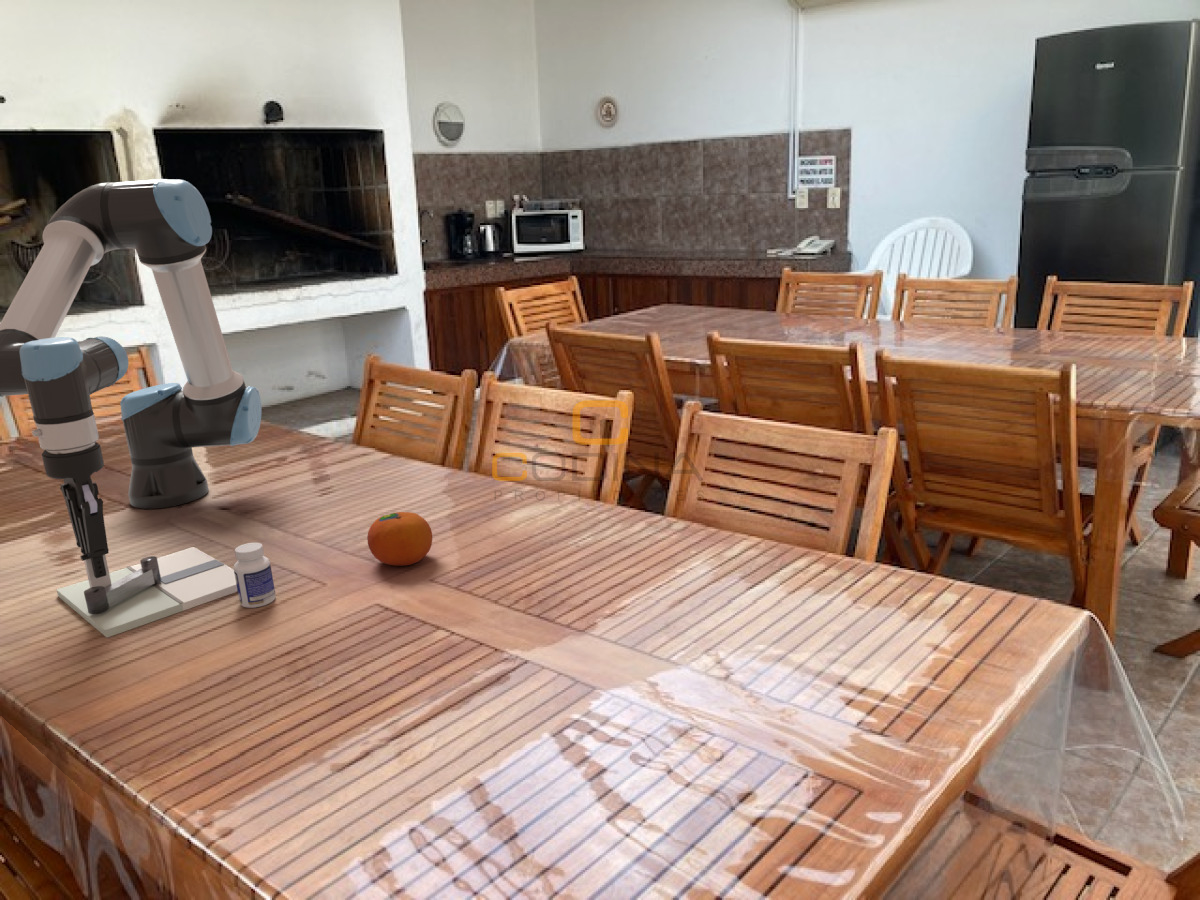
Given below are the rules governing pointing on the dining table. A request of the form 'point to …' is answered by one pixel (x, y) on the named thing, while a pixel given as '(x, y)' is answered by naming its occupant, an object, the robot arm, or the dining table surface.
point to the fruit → (400, 538)
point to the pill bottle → (253, 576)
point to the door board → (158, 591)
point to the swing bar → (123, 587)
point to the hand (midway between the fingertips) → (102, 594)
